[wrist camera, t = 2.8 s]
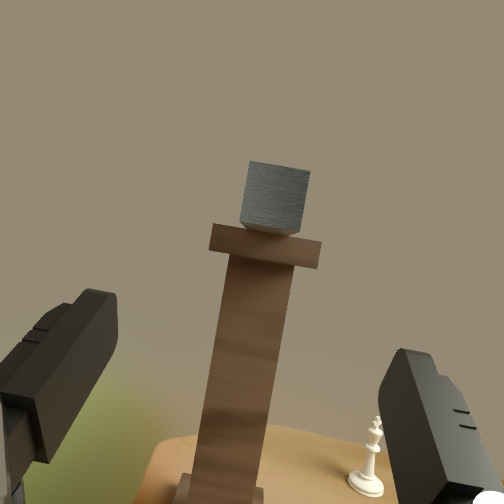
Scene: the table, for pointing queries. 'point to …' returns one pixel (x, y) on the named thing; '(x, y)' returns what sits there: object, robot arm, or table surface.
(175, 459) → the table surface
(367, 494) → the chess piece
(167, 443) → the table surface
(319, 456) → the table surface
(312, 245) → the walnut stand
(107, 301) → the robot arm
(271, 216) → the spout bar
